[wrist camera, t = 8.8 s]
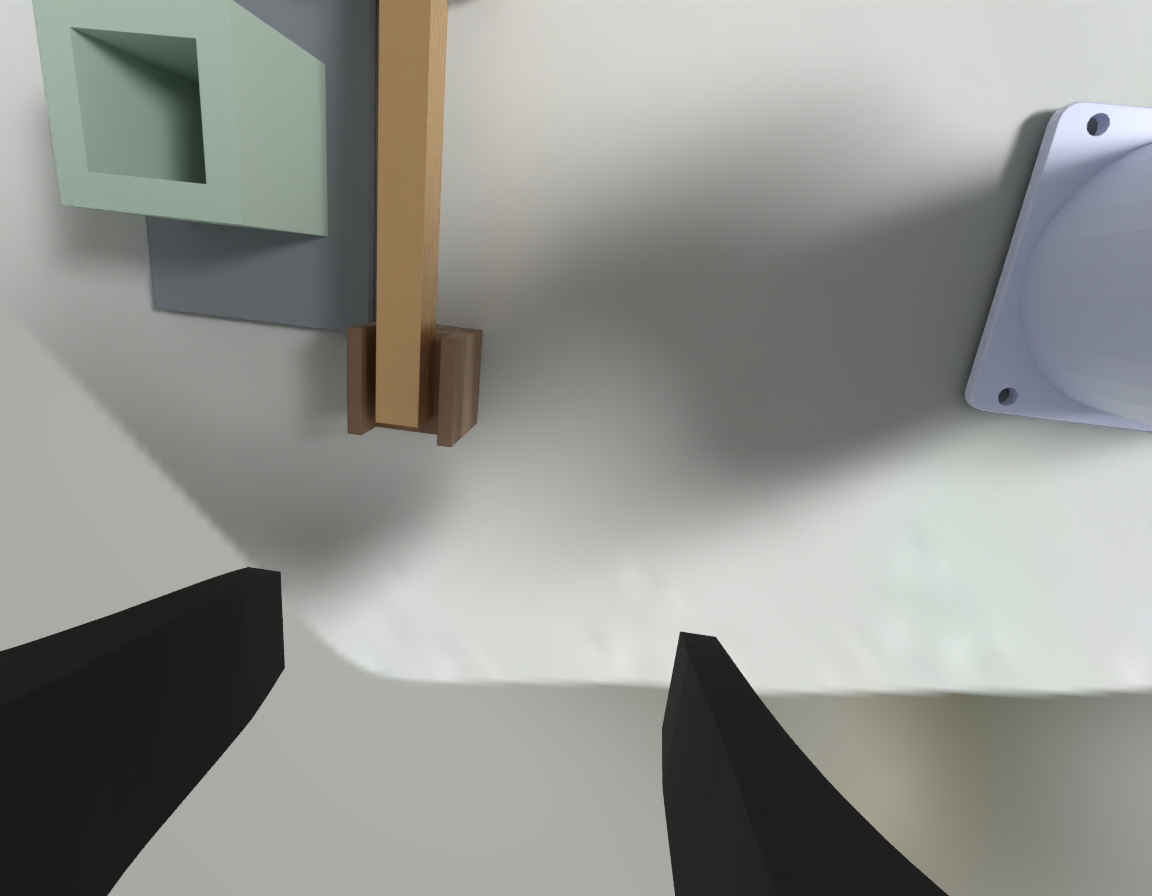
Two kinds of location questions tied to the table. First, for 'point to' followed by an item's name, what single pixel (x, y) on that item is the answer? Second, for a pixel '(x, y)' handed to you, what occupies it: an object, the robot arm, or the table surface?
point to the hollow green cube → (184, 113)
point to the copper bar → (408, 205)
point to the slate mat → (284, 259)
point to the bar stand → (450, 385)
